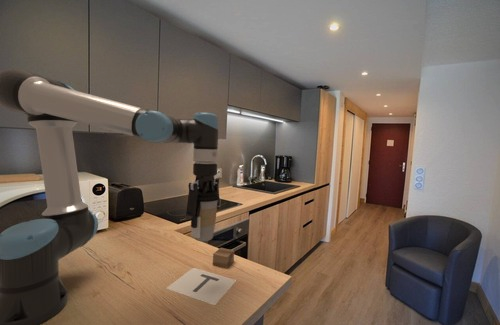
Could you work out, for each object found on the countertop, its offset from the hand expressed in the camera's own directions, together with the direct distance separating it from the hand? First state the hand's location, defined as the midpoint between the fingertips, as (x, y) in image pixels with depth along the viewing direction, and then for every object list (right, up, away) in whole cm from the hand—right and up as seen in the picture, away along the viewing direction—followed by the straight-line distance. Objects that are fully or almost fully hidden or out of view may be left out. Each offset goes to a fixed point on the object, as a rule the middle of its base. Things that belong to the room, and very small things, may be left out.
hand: (203, 232), depth 75 cm
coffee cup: (0, -2, 0) cm, 2 cm away
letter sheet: (-1, -18, +1) cm, 18 cm away
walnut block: (+5, -17, +15) cm, 23 cm away
